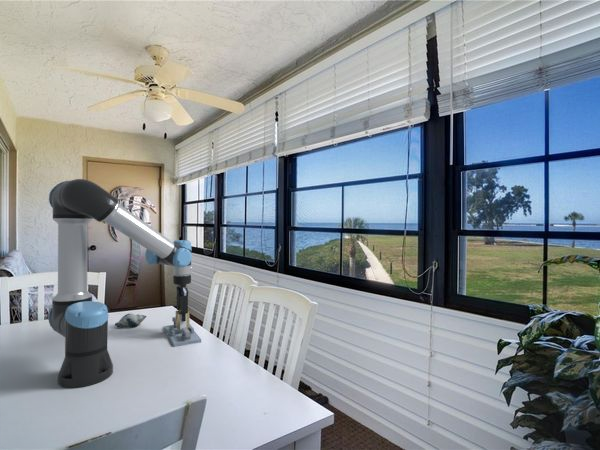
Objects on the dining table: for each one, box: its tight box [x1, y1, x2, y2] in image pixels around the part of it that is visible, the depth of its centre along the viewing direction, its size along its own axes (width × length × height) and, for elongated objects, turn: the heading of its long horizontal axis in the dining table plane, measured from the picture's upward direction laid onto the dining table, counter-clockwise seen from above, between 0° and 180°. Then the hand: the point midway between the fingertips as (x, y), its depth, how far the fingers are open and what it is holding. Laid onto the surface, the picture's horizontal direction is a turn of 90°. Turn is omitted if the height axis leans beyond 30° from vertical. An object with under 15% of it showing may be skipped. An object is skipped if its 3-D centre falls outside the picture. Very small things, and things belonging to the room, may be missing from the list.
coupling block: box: [175, 309, 190, 329], centre depth 150 cm, size 5×5×8 cm
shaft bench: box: [163, 316, 202, 348], centre depth 150 cm, size 26×11×5 cm, turn 30°
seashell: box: [114, 313, 147, 328], centre depth 161 cm, size 6×8×12 cm
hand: (181, 326), depth 150 cm, fingers closed on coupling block, 5 cm apart
